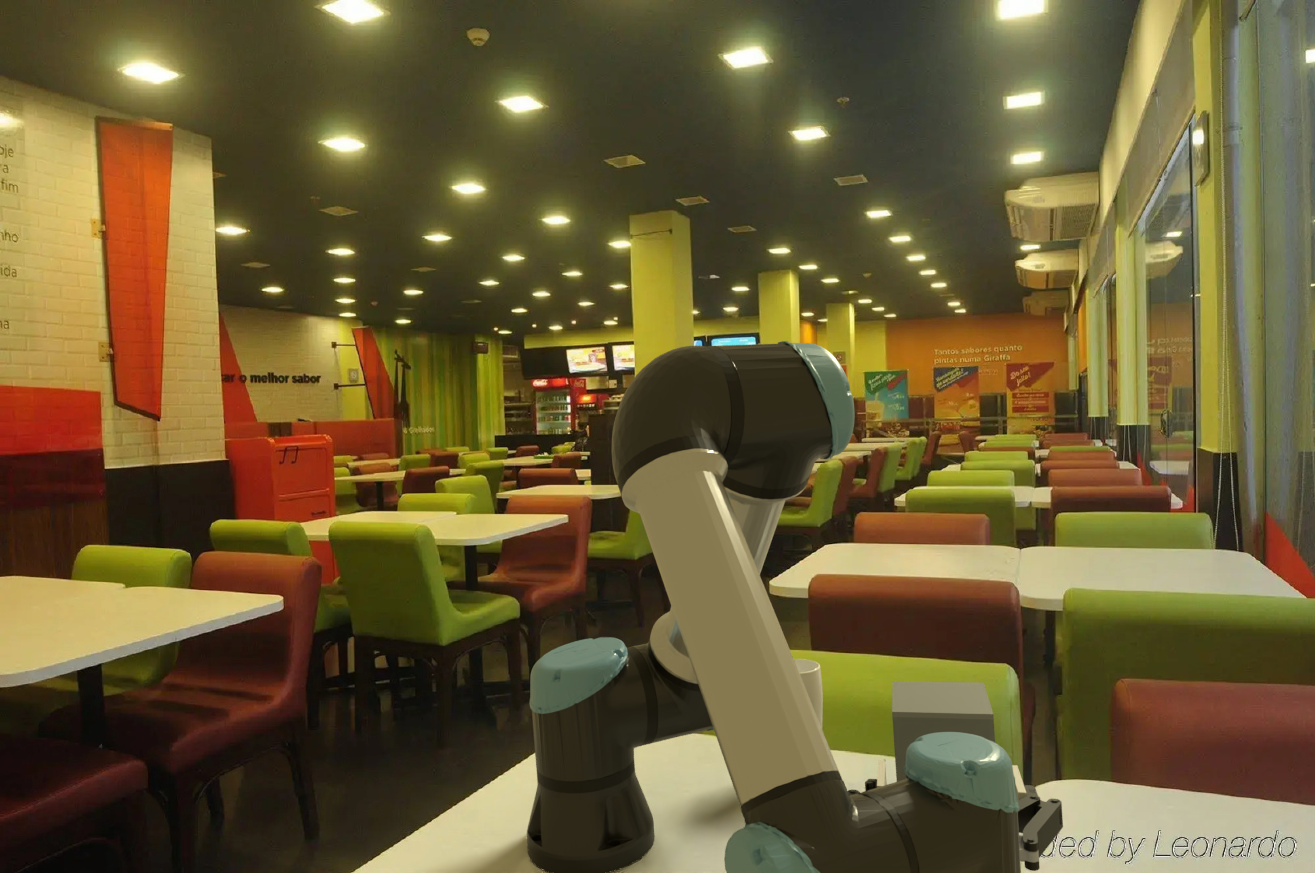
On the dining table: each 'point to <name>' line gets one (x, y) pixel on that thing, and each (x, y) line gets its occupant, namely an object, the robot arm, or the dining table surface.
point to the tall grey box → (937, 713)
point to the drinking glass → (812, 684)
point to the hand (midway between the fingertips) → (946, 774)
